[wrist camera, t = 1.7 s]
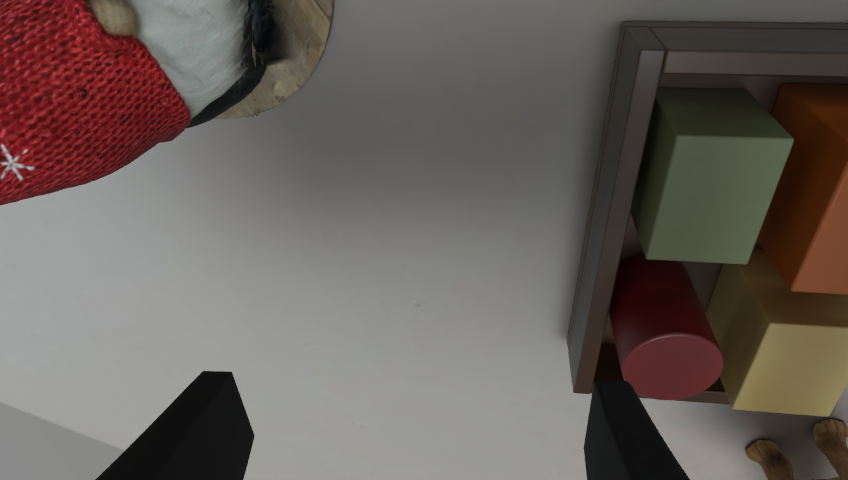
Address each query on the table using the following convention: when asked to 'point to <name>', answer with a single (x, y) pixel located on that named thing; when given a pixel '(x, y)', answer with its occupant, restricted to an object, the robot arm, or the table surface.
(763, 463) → the lion figurine
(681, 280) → the tray of colored blocks
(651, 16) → the table surface
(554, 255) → the table surface
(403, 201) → the table surface
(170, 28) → the figurine
